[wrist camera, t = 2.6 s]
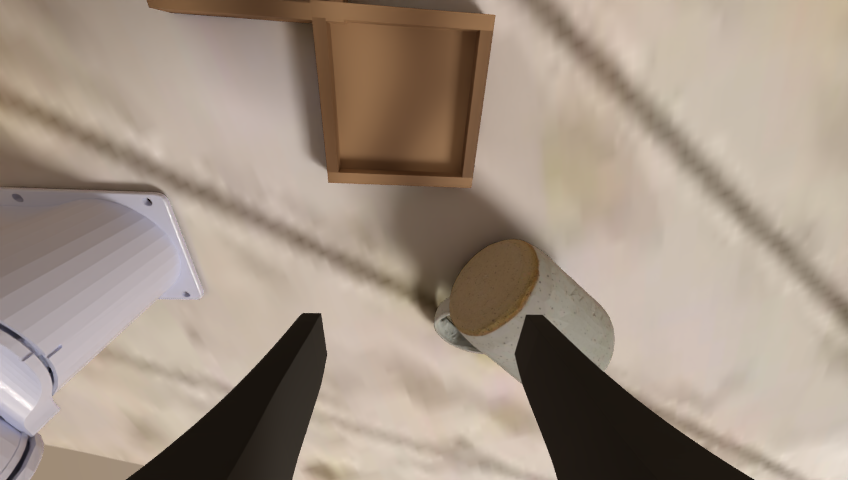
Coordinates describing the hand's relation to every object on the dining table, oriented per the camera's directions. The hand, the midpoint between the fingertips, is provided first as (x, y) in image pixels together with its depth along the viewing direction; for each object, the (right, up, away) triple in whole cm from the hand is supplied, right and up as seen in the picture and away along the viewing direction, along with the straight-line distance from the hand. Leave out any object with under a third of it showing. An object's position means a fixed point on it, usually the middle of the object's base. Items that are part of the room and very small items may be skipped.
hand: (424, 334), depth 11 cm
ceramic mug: (+6, 0, +13) cm, 14 cm away
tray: (-1, +11, +6) cm, 12 cm away
